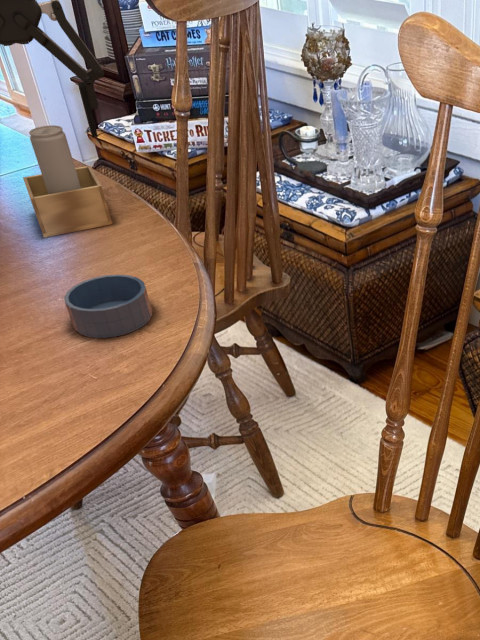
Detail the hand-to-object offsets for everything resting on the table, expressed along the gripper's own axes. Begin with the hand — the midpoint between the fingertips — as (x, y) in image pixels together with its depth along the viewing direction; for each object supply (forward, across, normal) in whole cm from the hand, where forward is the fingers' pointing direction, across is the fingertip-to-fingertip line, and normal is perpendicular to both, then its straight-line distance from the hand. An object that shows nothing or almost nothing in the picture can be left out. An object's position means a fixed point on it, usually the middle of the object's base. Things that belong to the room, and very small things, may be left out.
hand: (45, 140), depth 111 cm
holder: (+11, +1, 0) cm, 11 cm away
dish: (+11, +2, -35) cm, 37 cm away
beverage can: (+11, +1, 0) cm, 11 cm away
